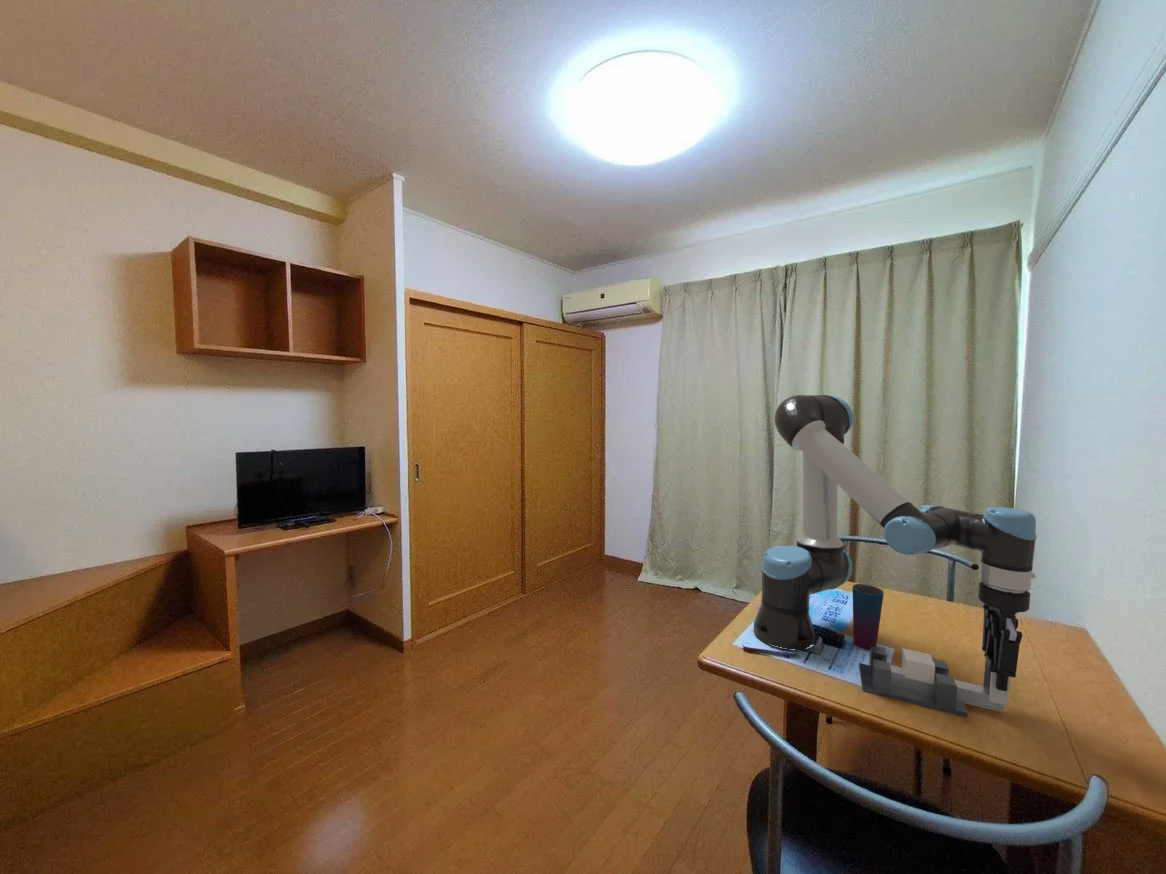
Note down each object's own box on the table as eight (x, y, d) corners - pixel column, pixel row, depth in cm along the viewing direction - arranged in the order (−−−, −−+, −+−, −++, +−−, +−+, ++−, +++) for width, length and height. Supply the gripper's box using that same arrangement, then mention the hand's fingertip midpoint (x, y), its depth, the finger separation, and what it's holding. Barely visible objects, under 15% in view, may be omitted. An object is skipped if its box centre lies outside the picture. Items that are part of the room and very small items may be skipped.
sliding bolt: (884, 683, 100) (886, 639, 99) (882, 676, 103) (885, 633, 102) (1006, 713, 91) (1010, 665, 90) (1001, 704, 93) (1005, 658, 92)
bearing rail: (862, 690, 99) (863, 664, 99) (859, 666, 108) (860, 642, 107) (967, 717, 91) (969, 689, 90) (954, 689, 100) (956, 663, 99)
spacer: (904, 677, 97) (906, 659, 97) (901, 665, 102) (902, 648, 101) (933, 684, 95) (935, 666, 95) (928, 671, 99) (930, 654, 99)
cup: (885, 653, 114) (888, 595, 112) (855, 650, 115) (858, 593, 114) (873, 639, 120) (876, 585, 119) (845, 636, 122) (848, 582, 120)
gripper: (1047, 606, 82) (1036, 728, 84) (1014, 575, 96) (1005, 681, 98) (993, 597, 85) (983, 715, 87) (968, 569, 99) (960, 671, 101)
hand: (994, 697), depth 92 cm, fingers closed on sliding bolt, 3 cm apart
